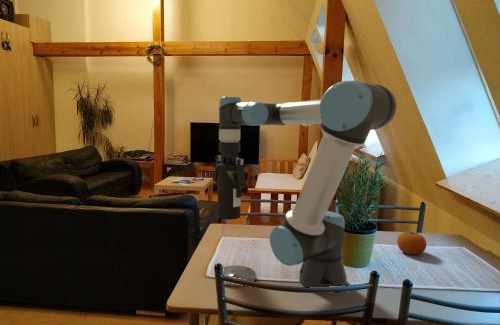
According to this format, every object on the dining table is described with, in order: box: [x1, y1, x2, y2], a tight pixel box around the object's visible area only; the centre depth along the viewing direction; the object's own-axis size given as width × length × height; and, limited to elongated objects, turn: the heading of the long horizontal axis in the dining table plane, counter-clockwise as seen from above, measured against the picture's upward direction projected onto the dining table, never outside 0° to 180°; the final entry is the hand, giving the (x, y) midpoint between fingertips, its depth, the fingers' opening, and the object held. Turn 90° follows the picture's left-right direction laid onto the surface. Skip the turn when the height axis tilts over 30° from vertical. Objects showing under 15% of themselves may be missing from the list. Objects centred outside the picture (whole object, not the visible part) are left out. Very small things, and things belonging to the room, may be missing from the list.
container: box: [216, 163, 241, 221], centre depth 125 cm, size 9×9×20 cm
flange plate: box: [222, 264, 257, 288], centre depth 114 cm, size 13×13×1 cm
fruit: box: [396, 231, 427, 255], centre depth 139 cm, size 11×10×8 cm
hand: (228, 203), depth 126 cm, fingers closed on container, 8 cm apart
